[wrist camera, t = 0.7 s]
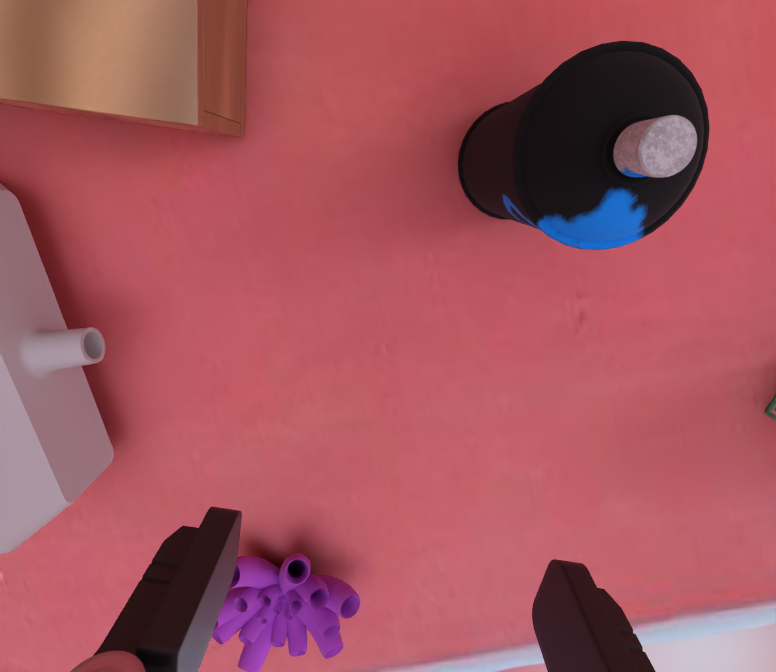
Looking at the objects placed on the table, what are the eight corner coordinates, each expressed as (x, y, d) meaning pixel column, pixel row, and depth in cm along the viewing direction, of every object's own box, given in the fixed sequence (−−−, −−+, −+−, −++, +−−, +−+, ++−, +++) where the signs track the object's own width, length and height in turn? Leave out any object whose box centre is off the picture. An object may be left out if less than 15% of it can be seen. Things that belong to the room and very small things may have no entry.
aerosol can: (458, 103, 33) (556, 6, 14) (573, 99, 33) (826, -5, 14) (456, 221, 36) (536, 272, 17) (562, 217, 36) (763, 264, 17)
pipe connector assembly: (228, 552, 51) (179, 569, 41) (360, 528, 49) (339, 539, 40) (236, 671, 47) (184, 718, 38) (378, 648, 46) (360, 690, 37)
